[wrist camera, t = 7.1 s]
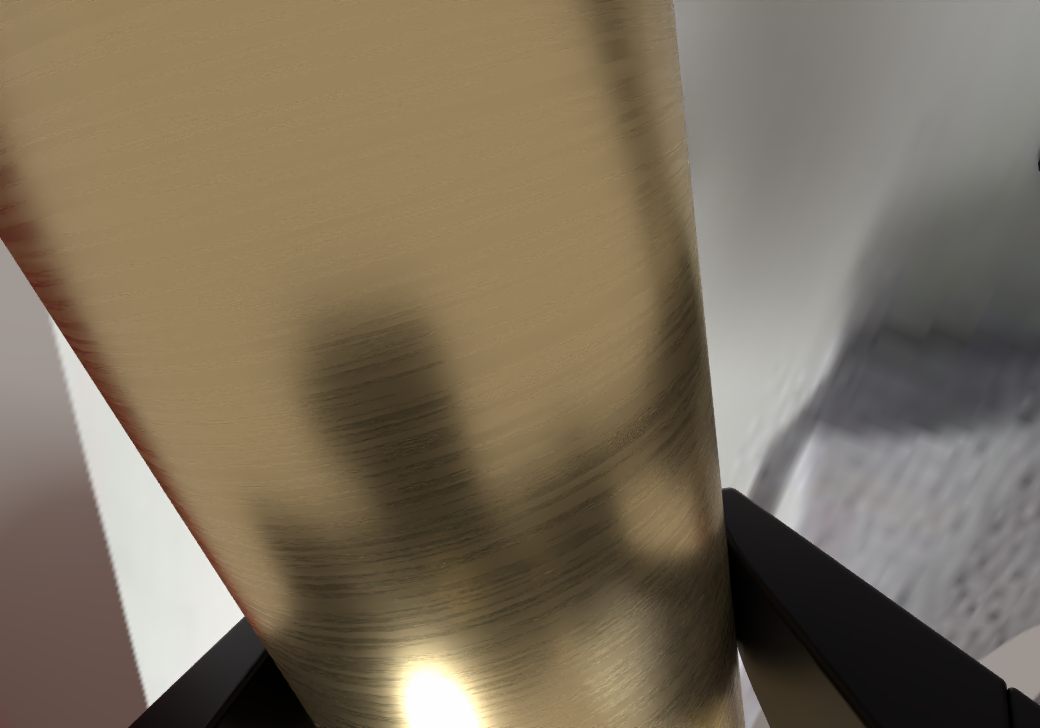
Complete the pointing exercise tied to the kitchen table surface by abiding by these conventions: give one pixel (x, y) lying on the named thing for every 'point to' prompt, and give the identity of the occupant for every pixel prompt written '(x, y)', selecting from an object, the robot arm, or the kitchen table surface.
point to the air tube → (399, 335)
